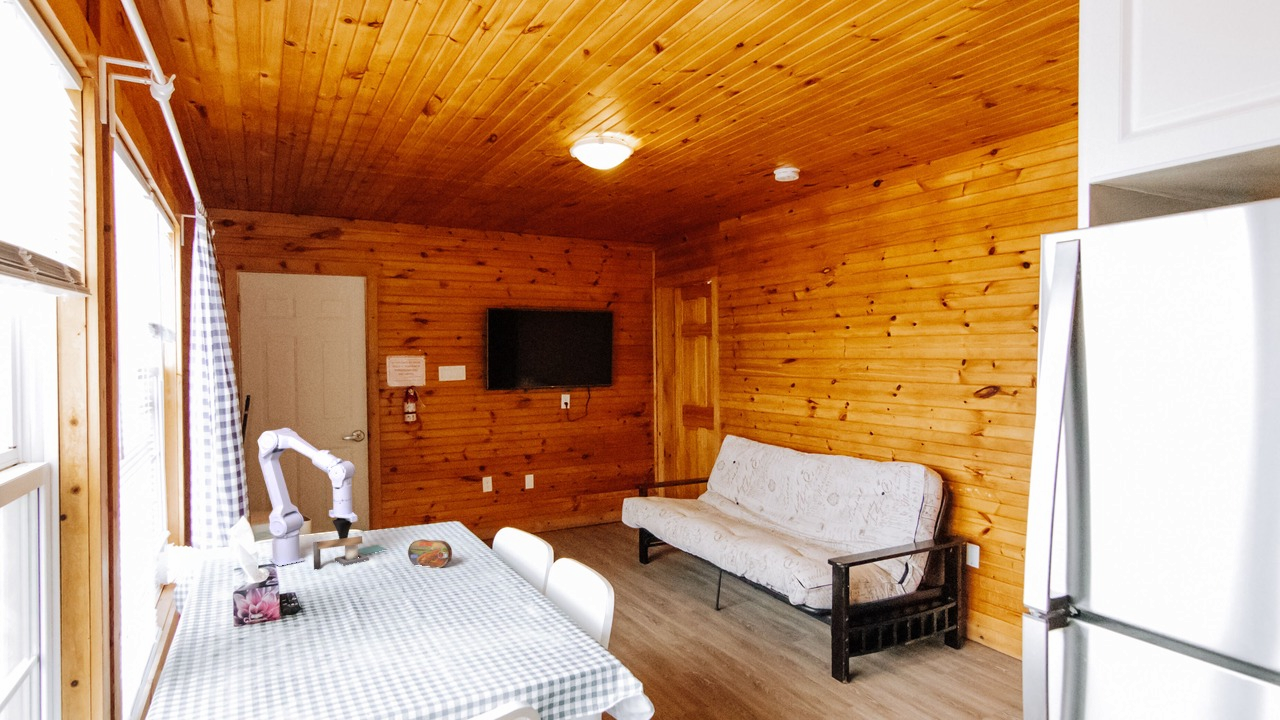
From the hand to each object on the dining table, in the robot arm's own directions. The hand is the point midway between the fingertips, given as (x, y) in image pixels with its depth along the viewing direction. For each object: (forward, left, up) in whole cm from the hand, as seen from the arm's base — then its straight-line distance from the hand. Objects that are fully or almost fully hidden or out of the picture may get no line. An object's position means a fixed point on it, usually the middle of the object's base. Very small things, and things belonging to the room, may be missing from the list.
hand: (343, 540), depth 222 cm
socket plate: (-1, +3, -7) cm, 8 cm away
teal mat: (-7, +12, -7) cm, 16 cm away
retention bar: (+1, -2, -7) cm, 8 cm away
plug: (-1, +3, -8) cm, 8 cm away
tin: (+24, +18, -8) cm, 31 cm away
